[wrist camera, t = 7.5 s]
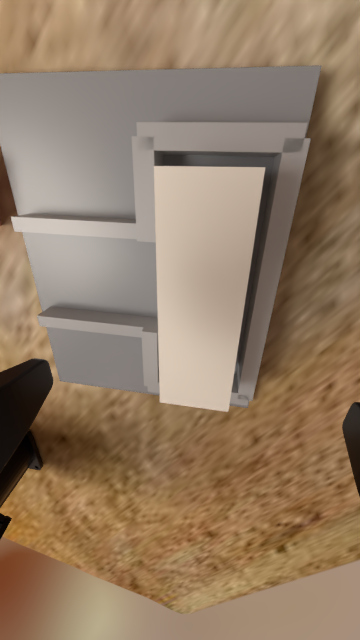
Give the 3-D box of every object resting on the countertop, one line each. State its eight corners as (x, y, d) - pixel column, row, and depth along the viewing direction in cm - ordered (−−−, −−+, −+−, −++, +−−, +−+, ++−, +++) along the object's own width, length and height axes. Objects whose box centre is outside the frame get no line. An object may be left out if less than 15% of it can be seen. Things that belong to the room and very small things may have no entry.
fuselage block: (228, 363, 19) (228, 411, 15) (173, 357, 19) (159, 402, 15) (253, 172, 13) (265, 167, 9) (175, 170, 13) (153, 165, 9)
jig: (246, 398, 21) (249, 429, 18) (66, 373, 23) (45, 397, 21) (314, 74, 12) (339, 42, 9) (-3, 80, 14) (-57, 56, 11)
